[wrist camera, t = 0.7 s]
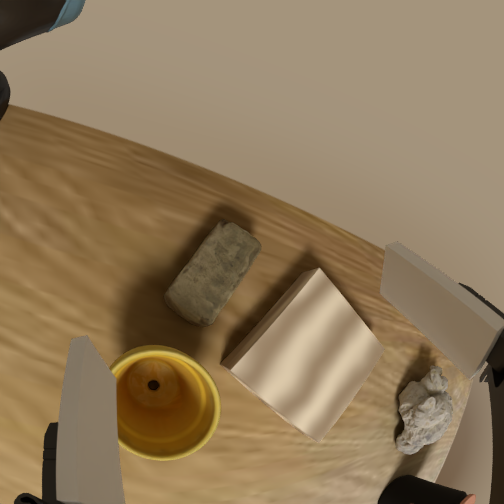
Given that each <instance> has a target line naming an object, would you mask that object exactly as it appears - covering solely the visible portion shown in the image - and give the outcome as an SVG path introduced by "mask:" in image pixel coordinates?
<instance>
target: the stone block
mask: <svg viewBox="0 0 504 504" xmlns="http://www.w3.org/2000/svg"><path fill="white" fill-rule="evenodd" d="M260 251H261V244H260V242H259V241H258V240H257V239H256V238H255V237H253V236H252V235H251V234H250V233H248V232H247V231H245V230H243V229H242V228H241V227H240V226H238V225H236V224H235V223H233V222H228V221H227V220H225V219H222V220H220V221H219V222H218V223H217V224H216V225H215V227H214V228H213V229H212V230H211V232H210V233H209V234H208V236H207V237H206V238H205V239H204V241H203V242H202V243H201V245H200V246H199V248H198V249H197V250H196V252H195V253H194V255H193V256H192V257H191V259H190V260H189V262H188V263H187V264H186V265H185V267H184V268H183V269H182V270H181V271H180V273H179V274H178V275H177V276H176V278H175V279H174V280H173V282H172V283H171V285H170V286H169V288H168V290H167V291H166V293H165V294H164V299H165V302H166V303H167V305H168V307H170V308H171V309H172V310H174V311H175V312H176V313H177V314H178V315H179V316H180V317H182V318H184V319H185V320H187V321H188V322H190V323H191V324H193V325H195V326H200V327H205V326H208V325H212V324H213V323H214V321H215V319H216V317H217V315H218V314H219V312H220V311H221V310H222V308H223V307H224V306H225V305H226V303H227V302H228V300H229V299H230V297H231V295H232V294H233V293H234V291H235V290H236V288H237V287H238V285H239V284H240V282H241V281H242V279H243V278H244V276H245V275H246V273H247V272H248V270H249V269H250V267H251V266H252V264H253V262H254V260H255V259H256V258H257V256H258V254H259V253H260Z"/></svg>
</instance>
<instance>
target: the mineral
mask: <svg viewBox="0 0 504 504" xmlns="http://www.w3.org/2000/svg"><path fill="white" fill-rule="evenodd" d="M441 374H442V368H440V367H438V366H433V365H432V366H430V372H428V373H427V374H426V376H425V377H424V378H422V380H421V381H420V382H415V381H412V382H409V383H408V385H407V387H406V388H405V389H404V390H403V391H402V393H401V394H400V395H399V401H400V407H399V412H400V414H401V417H402V419H403V421H404V424H405V427H404V430H403V432H402V434H398V437H397V439H396V440H397V441H396V449H397V450H398V451H401V452H403V453H405V454H409V455H411V454H414V453H416V452H418V451H419V450H420V449H421V448H422V447H423V446H424V445H429V444H430V443H434V442H435V441H437V440H439V439H440V438H441V437H442V436H443V435H444V433H445V431H447V428H448V425H449V424H450V422H451V421H452V414H453V409H452V398H451V396H449V393H447V392H446V391H445V390H446V389H447V387H448V380H447V378H446V377H444V376H441Z"/></svg>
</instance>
